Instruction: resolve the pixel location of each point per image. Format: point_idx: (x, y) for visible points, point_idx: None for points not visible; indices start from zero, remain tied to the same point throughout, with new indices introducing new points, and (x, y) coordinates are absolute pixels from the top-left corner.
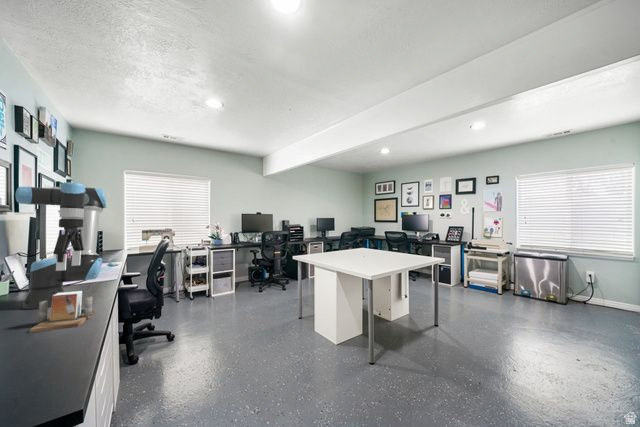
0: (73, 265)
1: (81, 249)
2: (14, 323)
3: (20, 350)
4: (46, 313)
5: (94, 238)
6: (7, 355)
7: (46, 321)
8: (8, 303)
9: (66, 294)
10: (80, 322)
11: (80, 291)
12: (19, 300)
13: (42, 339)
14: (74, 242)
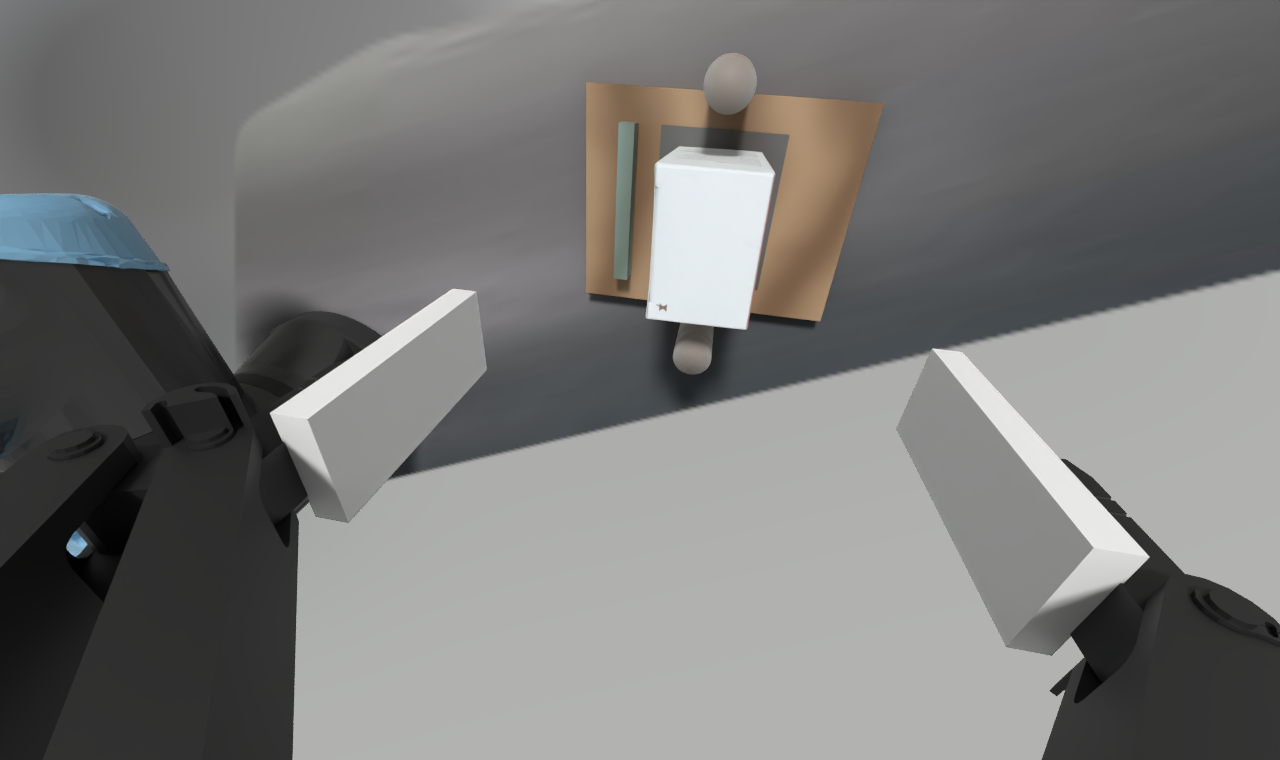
0: (483, 352)
1: (217, 426)
2: (621, 403)
3: (1109, 270)
4: None
5: None
6: (1139, 299)
7: None
8: None
9: (760, 248)
10: (845, 100)
11: (687, 169)
12: None
13: (998, 227)
14: (254, 750)
